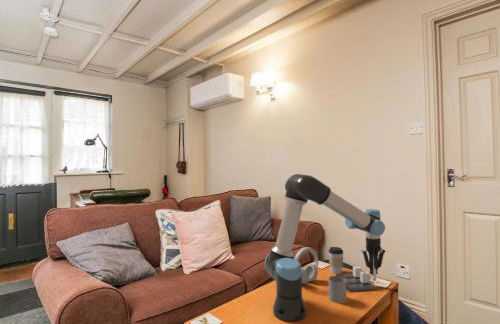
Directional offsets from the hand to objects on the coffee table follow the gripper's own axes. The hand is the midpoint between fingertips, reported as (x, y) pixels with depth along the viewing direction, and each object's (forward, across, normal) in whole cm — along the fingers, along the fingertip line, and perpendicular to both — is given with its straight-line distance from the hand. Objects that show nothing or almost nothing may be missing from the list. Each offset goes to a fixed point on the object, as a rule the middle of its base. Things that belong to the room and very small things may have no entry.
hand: (373, 279), depth 161 cm
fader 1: (+1, -6, +8) cm, 10 cm away
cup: (+4, -26, -12) cm, 28 cm away
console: (+3, -10, +4) cm, 11 cm away
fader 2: (+1, -5, 0) cm, 5 cm away
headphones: (+4, -36, +9) cm, 37 cm away
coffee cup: (+3, -13, +22) cm, 26 cm away
